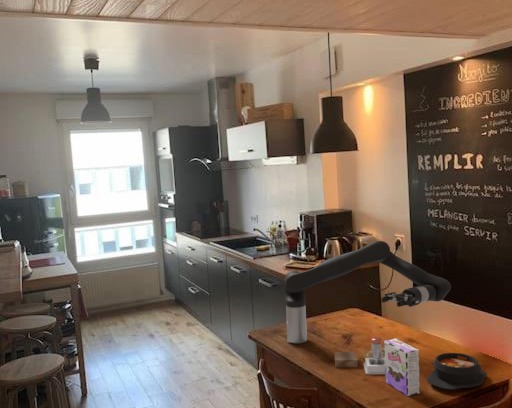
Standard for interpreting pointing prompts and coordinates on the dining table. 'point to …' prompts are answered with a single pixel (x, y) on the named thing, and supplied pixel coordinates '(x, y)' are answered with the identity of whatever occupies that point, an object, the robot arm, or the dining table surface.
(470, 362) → the casserole
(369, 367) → the socket
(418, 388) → the candy box
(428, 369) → the dining table surface
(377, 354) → the canister
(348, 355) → the mount
